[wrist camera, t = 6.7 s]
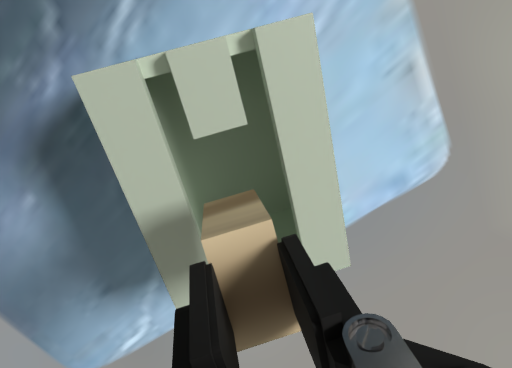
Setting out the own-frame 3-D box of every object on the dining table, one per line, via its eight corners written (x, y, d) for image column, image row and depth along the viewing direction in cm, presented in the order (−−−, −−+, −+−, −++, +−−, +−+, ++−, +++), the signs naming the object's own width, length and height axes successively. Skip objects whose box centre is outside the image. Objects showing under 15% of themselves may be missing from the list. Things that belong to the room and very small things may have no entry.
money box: (111, 66, 24) (71, 76, 16) (271, 23, 25) (312, 12, 17) (183, 247, 31) (181, 320, 22) (308, 208, 31) (350, 265, 23)
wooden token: (203, 203, 16) (200, 240, 11) (253, 188, 16) (271, 219, 12) (229, 285, 17) (237, 351, 12) (276, 271, 17) (302, 330, 12)
